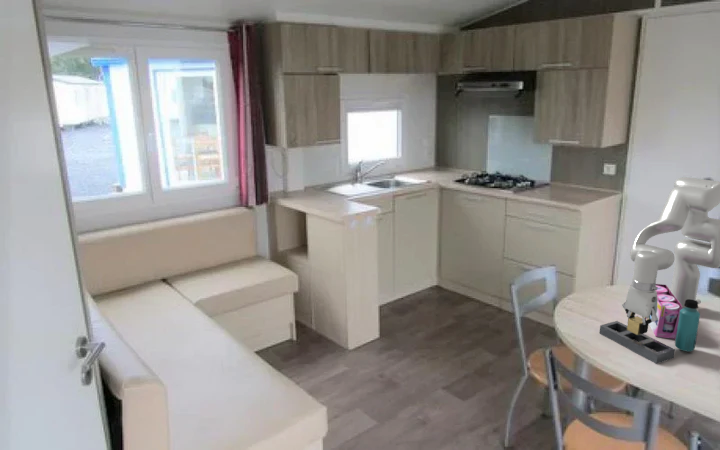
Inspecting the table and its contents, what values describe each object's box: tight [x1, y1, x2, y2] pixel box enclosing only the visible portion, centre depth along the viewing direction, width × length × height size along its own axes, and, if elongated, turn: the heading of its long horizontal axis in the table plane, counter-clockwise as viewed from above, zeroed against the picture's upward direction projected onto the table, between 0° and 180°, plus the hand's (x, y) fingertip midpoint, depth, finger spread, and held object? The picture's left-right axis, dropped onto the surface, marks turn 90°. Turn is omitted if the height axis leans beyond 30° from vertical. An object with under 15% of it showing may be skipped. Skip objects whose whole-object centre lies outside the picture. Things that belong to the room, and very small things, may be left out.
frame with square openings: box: [599, 320, 676, 365], centre depth 197 cm, size 9×25×4 cm, turn 24°
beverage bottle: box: [674, 299, 701, 352], centre depth 190 cm, size 6×7×20 cm
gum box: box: [648, 283, 682, 340], centre depth 210 cm, size 24×8×14 cm, turn 165°
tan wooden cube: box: [627, 315, 643, 335], centre depth 195 cm, size 5×5×5 cm
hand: (637, 329), depth 196 cm, fingers closed on tan wooden cube, 4 cm apart
